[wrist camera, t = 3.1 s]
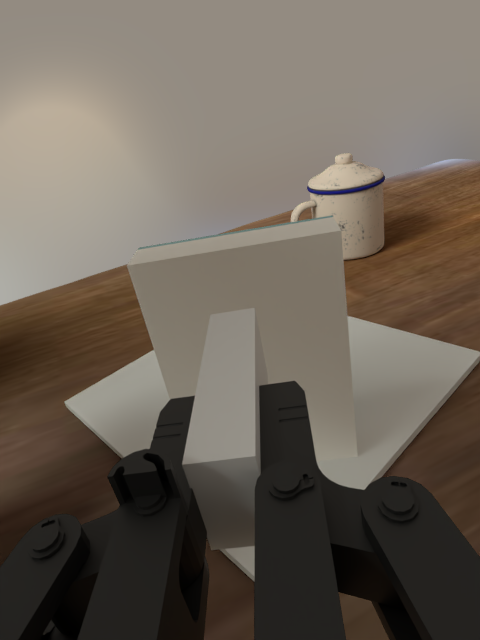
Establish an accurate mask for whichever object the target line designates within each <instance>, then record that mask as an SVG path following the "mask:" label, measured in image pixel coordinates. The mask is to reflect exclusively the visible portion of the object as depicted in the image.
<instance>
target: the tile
mask: <svg viewBox="0 0 480 640" xmlns="http://www.w3.org/2000/svg"><path fill="white" fill-rule="evenodd" d="M127 267H128V270H129V273H130V277H131V280H132V283H133V286H134V289H135V292H136V295H137V298H138V301H139V304H140V308H141V311H142V314H143V317H144V320H145V323H146V326H147V329H148V332H149V336H150V339H151V342H152V345H153V348H154V351H155V354H156V357H157V360H158V363H159V367H160V370H161V373H162V376H163V379H164V382H165V385H166V388H167V391H168V395H169V398H170V399H174V398H181V397H188V396H195V394H196V388H197V383H198V378H199V372H200V367H201V362H202V357H203V351H204V346H205V341H206V335H207V330H208V325H209V320H210V315H212V314H218V313H224V312H231V311H237V310H243V309H250V308H255V311H256V316H257V322H258V327H259V332H260V337H261V342H262V347H263V352H264V358H265V363H266V368H267V373H268V384H274V383H281V382H289V381H296V382H297V383H298V384H299V385H300V387H301V388H302V389H303V390H304V391H305V396H306V402H307V408H308V414H309V420H310V426H311V432H312V438H313V444H314V450H315V456H316V461H322V460H331V459H340V458H350V457H358V454H357V440H356V426H355V413H354V399H353V385H352V372H351V358H350V344H349V331H348V317H347V303H346V290H345V276H344V262H343V249H342V235H341V229H340V228H339V226H338V224H337V222H336V221H335V219H334V217H333V216H332V215H331V216H325V217H319V218H313V219H307V220H302V221H296V222H290V223H284V224H278V225H272V226H266V227H260V228H254V229H248V230H242V231H236V232H230V233H224V234H218V235H213V236H206V237H201V238H195V239H189V240H183V241H177V242H171V243H165V244H159V245H153V246H147V247H142V248H139V249H138V250H137V252H136V253H135V255H134V256H133V258H132V259H131V261H130V262H129V263H128V265H127Z"/></svg>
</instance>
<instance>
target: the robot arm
mask: <svg viewBox="0 0 480 640" xmlns="http://www.w3.org/2000/svg"><path fill="white" fill-rule="evenodd" d="M107 477H108V479H109V482H110V484H111V486H112V488H113V490H114V493H115V495H116V497H117V499H118V501H119V503H120V506H119V508H118V509H117V510H116V511H114V512H112V513H110V514H107V515H105V516H103V517H100V518H98V519H95V520H93V521H90V522H87V523H85V524H82V525H81V524H80V523H79V521H78V520H77V518H76V517H74V516H72V515H69V514H59V515H54V516H51V517H49V518H46V519H44V520H42V521H41V522H39V523H38V524H36V525H35V526H33V527H32V528H31V529H30V530H29V531H28V532H27V533H26V534H25V535H24V536H23V537H22V538H21V540H20V541H19V543H18V544H17V545H16V547H15V548H14V549H13V551H12V552H11V553H10V555H9V556H8V557H7V559H6V560H5V561H4V563H3V564H2V565H1V567H0V640H204V629H205V617H206V606H207V595H208V583H209V569H208V563H207V561H206V558H205V548H206V538H207V539H208V542H209V545H210V548H211V550H219V549H229V548H240V547H250V546H255V582H254V640H346V636H345V630H344V624H343V618H342V612H341V606H340V600H339V594H338V592H340V593H344V594H348V595H352V596H355V597H359V598H363V599H366V600H370V601H372V603H373V606H374V608H375V610H376V612H377V614H378V616H379V618H380V620H381V622H382V625H383V627H384V629H385V631H386V633H387V635H388V637H389V639H390V640H480V557H479V555H478V554H477V553H476V551H475V550H474V549H473V548H472V546H471V545H470V544H469V542H468V541H467V540H466V538H465V537H464V536H463V534H462V533H461V532H460V531H459V529H458V528H457V527H456V525H455V524H454V523H453V521H452V520H451V519H450V517H449V516H448V515H447V514H446V512H445V511H444V510H443V508H442V507H441V506H440V504H439V503H438V502H437V500H436V499H435V498H434V496H433V495H432V494H431V493H430V492H429V491H428V490H427V489H426V488H425V487H423V486H422V485H421V484H419V483H417V482H415V481H413V480H411V479H409V478H403V477H397V476H390V477H383V478H379V479H377V480H376V481H374V482H372V483H370V484H369V485H368V486H367V487H366V489H365V490H362V489H356V488H350V487H346V486H342V485H339V484H337V483H335V482H333V481H331V480H330V479H328V478H327V477H326V476H325V475H324V474H323V473H322V472H321V470H320V469H319V467H318V464H317V461H316V456H315V450H314V444H313V438H312V432H311V426H310V420H309V414H308V408H307V402H306V396H305V391H304V390H303V389H302V388H301V387H300V385H299V384H298V383H297V382H296V381H289V382H281V383H274V384H268V373H267V368H266V363H265V358H264V352H263V347H262V342H261V337H260V332H259V327H258V322H257V316H256V311H255V308H250V309H243V310H237V311H231V312H224V313H218V314H212V315H210V320H209V325H208V330H207V335H206V341H205V346H204V351H203V357H202V362H201V367H200V372H199V378H198V383H197V388H196V394H195V396H188V397H181V398H174V399H170V400H169V401H168V403H167V404H166V405H165V406H164V408H163V409H162V410H161V411H160V414H159V417H158V421H157V424H156V429H155V431H154V435H153V440H152V442H151V445H150V449H143V450H140V451H136V452H133V453H131V454H129V455H128V456H126V457H124V458H122V459H121V460H120V461H119V462H118V463H117V464H116V465H115V466H114V467H113V468H112V470H111V471H110V473H109V475H108V476H107Z"/></svg>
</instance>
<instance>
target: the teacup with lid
mask: <svg viewBox="0 0 480 640" xmlns="http://www.w3.org/2000/svg"><path fill="white" fill-rule="evenodd" d="M335 163H336V164H334V165H331V166H329V167H328V168H327V169H326V170H325V171H324V172H322V173H321V174H319V175H317V176H315V177H313V178H312V179H311V180H310V181H309V183H308V187H307V189H308V191H309V192H310V199H311V201H307V202H304V203H301V204H299V205H298V206H297V207H296V208H295V209H294V211H293V213H292V215H291V222H296V221H299V216H300V214H301V213H302V212H303V211H304V210H306V209H308V208H311V209H312V218H319V217H325V216H331V215H332V216H333V217H334V219H335V221H336V222H337V224H338V226H339V228H340V229H341V235H342V249H343V260H352V259H359V258H363V257H367V256H370V255H372V254H375V253H376V252H378V251H379V250H381V249H382V247H383V246H384V209H383V181H384V180H385V176H384V174H383V172H382V171H381V170H380V169H378V168H374V167H368V166H366V165H364V164H362V163H359V162H355V161H352V155H351V154H349V153H345V154H340V155H337V156H336V157H335Z"/></svg>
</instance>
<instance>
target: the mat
mask: <svg viewBox="0 0 480 640" xmlns="http://www.w3.org/2000/svg"><path fill="white" fill-rule="evenodd" d="M347 317H348V331H349V344H350V358H351V372H352V385H353V399H354V413H355V426H356V440H357V454H358V457H350V458H340V459H331V460H322V461H317V464H318V467H319V469H320V470H321V472H322V473H323V474H324V475H325V476H326V477H327V478H328V479H330V480H331V481H333V482H335V483H337V484H339V485H342V486H346V487H350V488H356V489H362V490H365V489H366V487H367V486H368V485H369V484H370V483H372V482H374V481H376V480H377V479H379V478H381V477H382V476H383V475H384V474H385V472H386V471H387V470H388V469H389V468H390V466H391V465H392V464H393V463H394V462H395V461H396V459H397V458H398V457H399V456H400V455H401V454H402V452H403V451H404V450H405V449H406V448H407V446H408V445H409V444H410V443H411V442H412V441H413V439H414V438H415V437H416V436H417V435H418V434H419V432H420V431H421V430H422V429H423V428H424V426H425V425H426V424H427V423H428V422H429V421H430V419H431V418H432V417H433V416H434V415H435V413H436V412H437V411H438V410H439V409H440V408H441V406H442V405H443V404H444V403H445V402H446V401H447V399H448V398H449V397H450V396H451V395H452V393H453V392H454V391H455V390H456V389H457V388H458V386H459V385H460V384H461V383H462V382H463V381H464V379H465V378H466V377H467V376H468V375H469V373H470V372H471V371H472V370H473V369H474V368H475V366H476V365H477V364H478V363H479V362H480V352H479V351H475V350H471V349H468V348H464V347H460V346H457V345H453V344H449V343H446V342H442V341H438V340H435V339H431V338H427V337H424V336H420V335H416V334H413V333H409V332H405V331H401V330H398V329H394V328H390V327H387V326H383V325H379V324H376V323H372V322H368V321H365V320H361V319H357V318H354V317H350V316H347ZM169 400H170V398H169V395H168V391H167V388H166V385H165V382H164V379H163V376H162V373H161V370H160V367H159V363H158V360H157V357H156V354H155V351H154V350H152V351H151V352H149V353H147V354H146V355H144V356H142V357H140V358H139V359H137V360H135V361H134V362H132V363H130V364H128V365H127V366H125V367H123V368H121V369H120V370H118V371H116V372H115V373H113V374H111V375H109V376H108V377H106V378H104V379H103V380H101V381H99V382H97V383H96V384H94V385H92V386H91V387H89V388H87V389H85V390H84V391H82V392H80V393H78V394H77V395H75V396H73V397H72V398H70V399H68V400H66V401H65V402H64V403H65V405H66V407H67V408H68V409H69V410H70V411H71V412H72V413H73V414H74V415H75V416H76V417H77V418H79V419H80V420H81V421H82V422H83V423H84V424H85V425H86V426H87V427H88V428H89V429H90V430H91V431H93V432H94V433H95V434H96V435H97V436H98V437H99V438H100V439H101V440H102V441H103V442H104V443H105V444H107V445H108V446H109V447H110V448H111V449H112V450H113V451H114V452H115V453H116V454H117V455H118V456H119V457H120V458H124V457H126V456H128V455H129V454H131V453H133V452H136V451H140V450H143V449H150V445H151V442H152V440H153V435H154V431H155V429H156V424H157V421H158V417H159V414H160V411H161V410H162V409H163V408H164V406H165V405H166V404H167V403H168V401H169ZM219 550H220V551H222V552H223V553H224V554H225V555H226V556H227V557H228V558H229V559H230V560H231V561H232V562H233V563H234V564H236V565H237V566H238V567H239V568H240V569H241V570H242V571H243V572H244V573H245V574H246V575H247V576H248V577H249V578H251V579H252V580H253V581H254V582H255V546H250V547H240V548H229V549H219Z"/></svg>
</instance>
